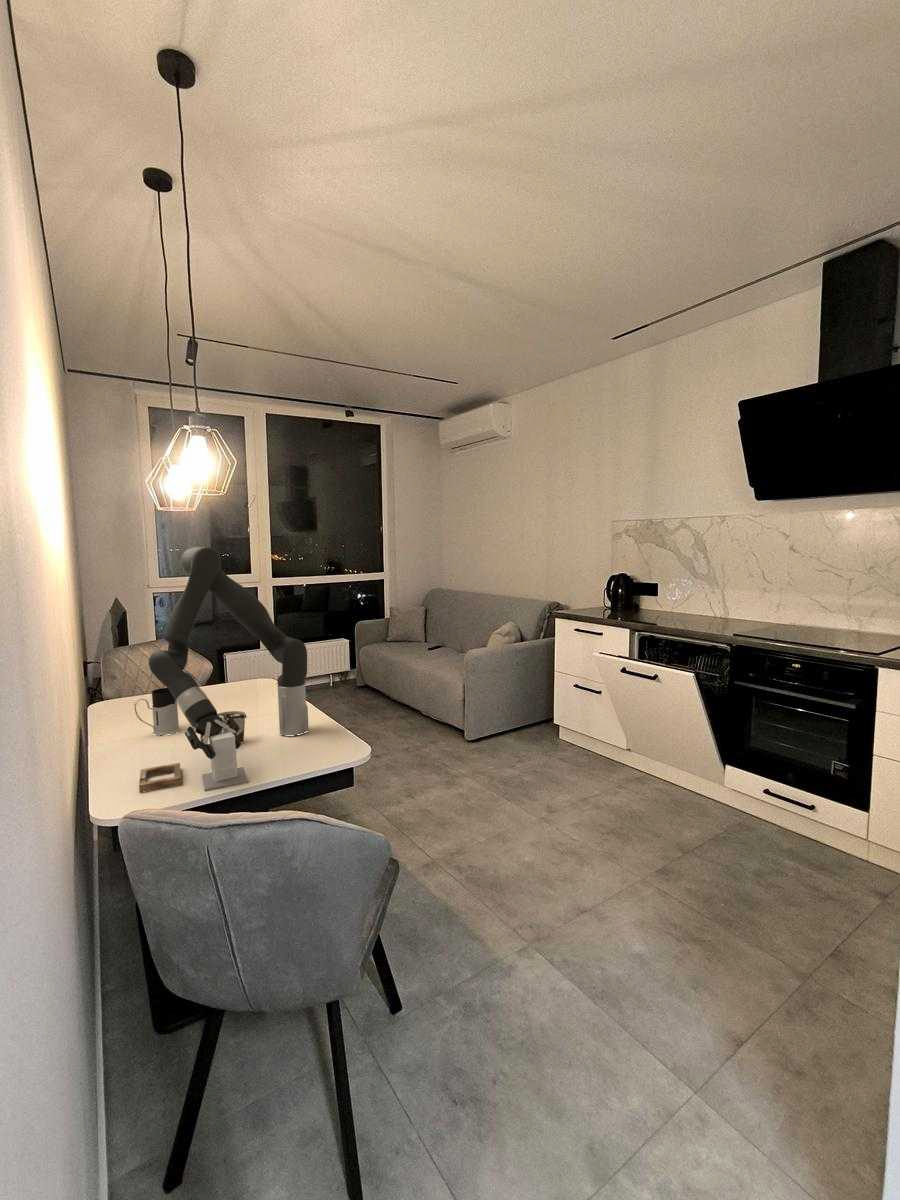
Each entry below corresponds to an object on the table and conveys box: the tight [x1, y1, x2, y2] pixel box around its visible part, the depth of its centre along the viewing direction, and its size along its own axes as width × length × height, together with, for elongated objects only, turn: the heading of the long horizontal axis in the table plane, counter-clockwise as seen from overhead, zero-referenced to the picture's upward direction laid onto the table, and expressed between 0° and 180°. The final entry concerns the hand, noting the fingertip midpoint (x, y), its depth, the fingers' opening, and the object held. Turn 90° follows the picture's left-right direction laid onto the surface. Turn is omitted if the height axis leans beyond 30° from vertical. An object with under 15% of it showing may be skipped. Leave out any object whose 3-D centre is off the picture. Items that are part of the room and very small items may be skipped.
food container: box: [217, 710, 248, 743], centre depth 182 cm, size 12×6×10 cm, turn 134°
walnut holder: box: [138, 762, 182, 793], centre depth 154 cm, size 10×12×2 cm
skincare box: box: [208, 732, 238, 782], centre depth 154 cm, size 6×4×12 cm
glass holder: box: [134, 687, 181, 736], centre depth 192 cm, size 9×14×15 cm, turn 141°
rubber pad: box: [201, 766, 249, 792], centre depth 155 cm, size 11×11×1 cm
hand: (226, 751), depth 153 cm, fingers open, 8 cm apart
